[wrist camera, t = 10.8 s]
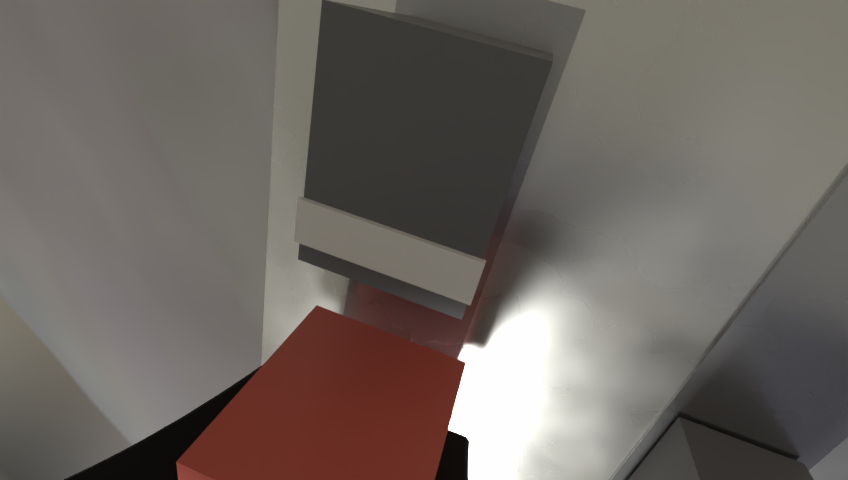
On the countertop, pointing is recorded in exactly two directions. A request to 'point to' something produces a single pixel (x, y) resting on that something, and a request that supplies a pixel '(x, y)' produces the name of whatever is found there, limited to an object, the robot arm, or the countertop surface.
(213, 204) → the countertop surface
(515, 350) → the breaker panel
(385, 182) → the block
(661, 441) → the breaker
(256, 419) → the red cube
